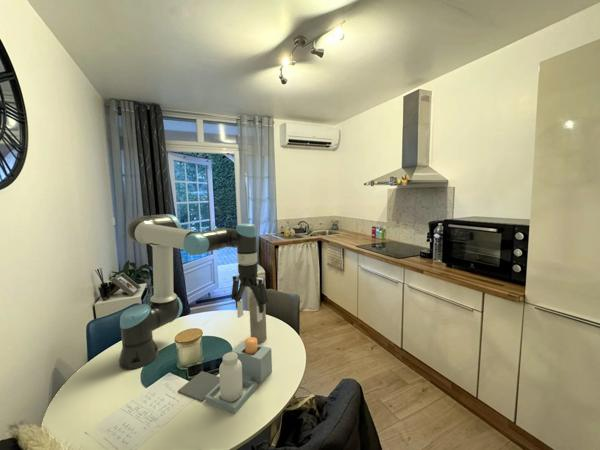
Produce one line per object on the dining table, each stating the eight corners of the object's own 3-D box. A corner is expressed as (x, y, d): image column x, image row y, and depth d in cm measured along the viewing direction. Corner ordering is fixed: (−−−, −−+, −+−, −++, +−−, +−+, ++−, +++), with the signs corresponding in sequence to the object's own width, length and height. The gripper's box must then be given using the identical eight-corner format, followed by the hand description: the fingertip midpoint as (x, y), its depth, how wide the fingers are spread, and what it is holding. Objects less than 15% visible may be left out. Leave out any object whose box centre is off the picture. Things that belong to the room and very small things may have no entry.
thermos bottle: (258, 333, 139) (256, 282, 136) (269, 337, 135) (268, 284, 132) (247, 340, 132) (245, 286, 129) (259, 344, 128) (257, 289, 125)
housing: (204, 401, 93) (202, 375, 92) (244, 362, 114) (243, 341, 113) (236, 414, 87) (234, 386, 86) (272, 371, 108) (271, 348, 107)
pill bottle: (237, 404, 91) (235, 364, 90) (216, 401, 93) (214, 361, 91) (246, 388, 99) (244, 350, 97) (226, 385, 101) (224, 348, 99)
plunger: (242, 358, 106) (242, 342, 105) (250, 351, 110) (249, 336, 109) (253, 361, 104) (252, 344, 103) (260, 354, 108) (259, 338, 107)
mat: (177, 392, 98) (177, 390, 98) (201, 372, 108) (201, 371, 108) (202, 401, 93) (201, 400, 93) (224, 380, 103) (224, 378, 103)
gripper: (219, 263, 104) (222, 317, 106) (265, 268, 95) (268, 327, 97) (231, 258, 111) (234, 310, 113) (276, 263, 102) (277, 318, 104)
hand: (250, 318), depth 105 cm, fingers open, 9 cm apart
